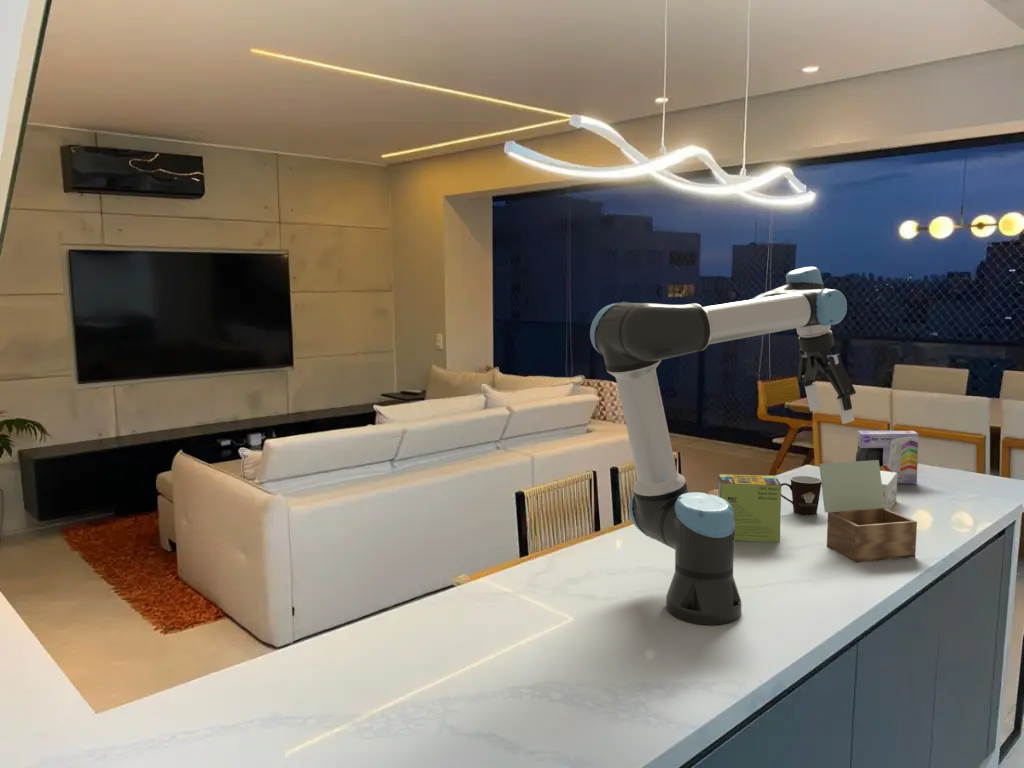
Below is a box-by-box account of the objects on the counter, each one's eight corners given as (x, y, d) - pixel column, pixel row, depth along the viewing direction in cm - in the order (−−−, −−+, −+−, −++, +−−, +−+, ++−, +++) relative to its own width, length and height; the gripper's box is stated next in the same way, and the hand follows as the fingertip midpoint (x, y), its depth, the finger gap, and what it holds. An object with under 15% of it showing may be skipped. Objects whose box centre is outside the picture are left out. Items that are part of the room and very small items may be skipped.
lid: (820, 463, 192) (818, 463, 193) (826, 512, 190) (824, 512, 191) (878, 460, 195) (876, 460, 196) (884, 507, 193) (882, 507, 194)
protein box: (780, 542, 195) (782, 484, 193) (719, 540, 198) (720, 482, 196) (775, 530, 205) (776, 475, 203) (717, 527, 208) (717, 473, 206)
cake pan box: (856, 483, 252) (858, 432, 250) (852, 480, 257) (854, 429, 255) (917, 485, 249) (920, 433, 246) (912, 481, 254) (914, 430, 251)
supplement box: (850, 495, 238) (852, 467, 237) (896, 501, 230) (898, 472, 229) (838, 508, 224) (839, 478, 223) (886, 515, 217) (888, 484, 216)
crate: (856, 562, 179) (857, 526, 178) (826, 546, 191) (827, 512, 190) (915, 557, 182) (917, 521, 181) (882, 541, 194) (884, 508, 193)
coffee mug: (823, 510, 222) (824, 478, 220) (817, 518, 214) (818, 484, 213) (782, 505, 228) (783, 473, 227) (776, 512, 221) (776, 479, 219)
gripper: (861, 333, 164) (878, 422, 169) (800, 322, 188) (816, 399, 193) (831, 344, 163) (848, 432, 168) (773, 331, 188) (790, 409, 192)
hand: (831, 415), depth 181 cm, fingers open, 13 cm apart
